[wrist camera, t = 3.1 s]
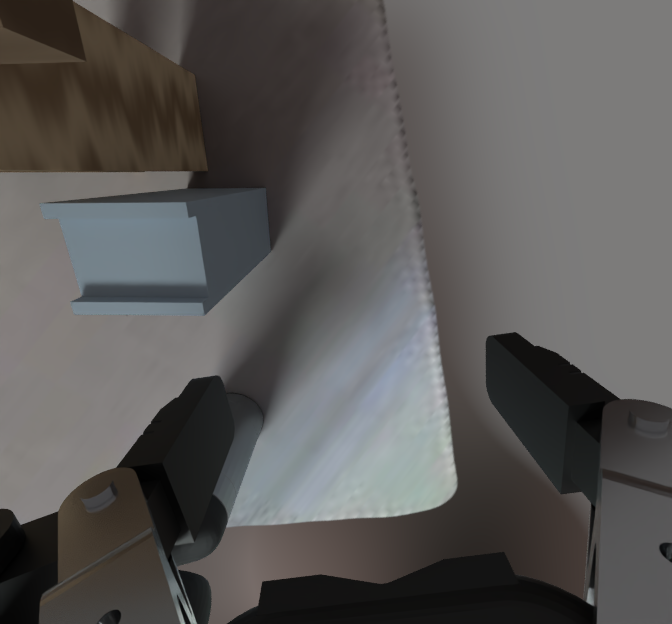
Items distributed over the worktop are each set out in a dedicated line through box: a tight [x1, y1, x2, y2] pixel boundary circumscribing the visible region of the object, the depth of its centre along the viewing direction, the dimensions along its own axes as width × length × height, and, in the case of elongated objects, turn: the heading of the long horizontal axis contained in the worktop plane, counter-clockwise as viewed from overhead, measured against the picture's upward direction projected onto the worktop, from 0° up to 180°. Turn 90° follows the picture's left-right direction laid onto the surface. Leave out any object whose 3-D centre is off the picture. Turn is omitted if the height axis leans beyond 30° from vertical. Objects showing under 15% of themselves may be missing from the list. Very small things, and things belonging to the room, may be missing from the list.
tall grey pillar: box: [39, 188, 271, 316], centre depth 35 cm, size 8×10×22 cm
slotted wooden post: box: [0, 2, 208, 172], centre depth 27 cm, size 10×10×32 cm
